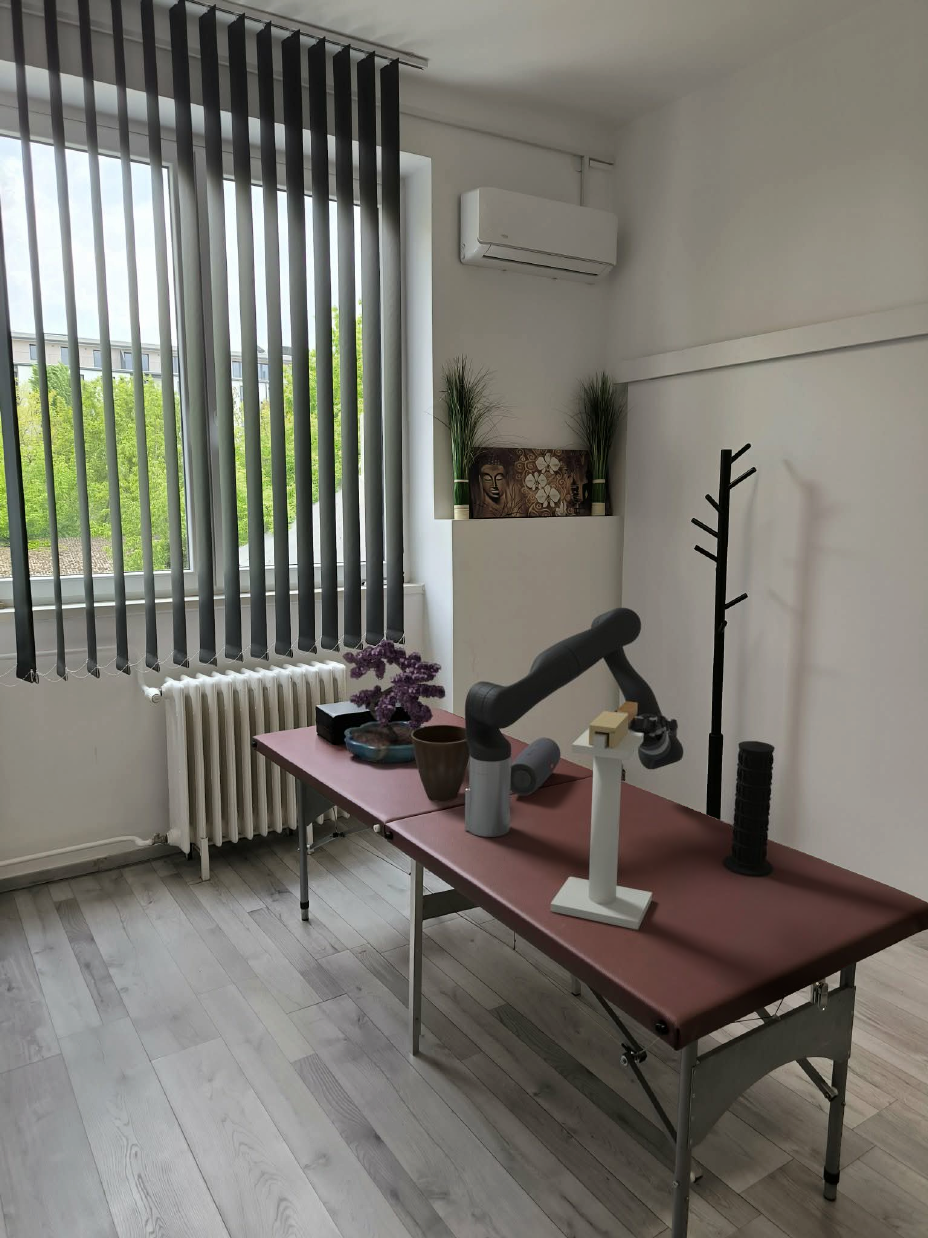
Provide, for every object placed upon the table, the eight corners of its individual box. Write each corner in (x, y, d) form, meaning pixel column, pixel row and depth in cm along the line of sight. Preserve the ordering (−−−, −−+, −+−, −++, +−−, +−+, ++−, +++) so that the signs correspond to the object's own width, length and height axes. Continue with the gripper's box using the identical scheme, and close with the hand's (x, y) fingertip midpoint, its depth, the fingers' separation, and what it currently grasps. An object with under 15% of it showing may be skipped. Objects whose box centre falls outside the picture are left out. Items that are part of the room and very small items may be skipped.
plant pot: (450, 812, 209) (451, 746, 206) (399, 799, 217) (399, 735, 214) (483, 793, 221) (484, 731, 219) (433, 781, 229) (433, 721, 226)
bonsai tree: (325, 745, 258) (324, 634, 252) (409, 732, 271) (410, 627, 266) (377, 782, 228) (376, 657, 223) (468, 766, 242) (470, 648, 236)
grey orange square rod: (592, 748, 154) (592, 735, 153) (625, 712, 176) (626, 701, 176) (605, 749, 153) (605, 736, 153) (637, 714, 176) (637, 702, 175)
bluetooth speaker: (539, 803, 215) (540, 763, 214) (502, 798, 218) (503, 759, 217) (562, 774, 236) (563, 737, 235) (528, 769, 239) (529, 733, 238)
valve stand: (550, 911, 163) (556, 722, 157) (569, 883, 174) (575, 706, 168) (637, 929, 157) (647, 733, 151) (651, 900, 167) (661, 716, 161)
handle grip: (773, 880, 176) (774, 859, 186) (783, 751, 172) (783, 737, 181) (721, 872, 179) (724, 852, 189) (729, 745, 175) (731, 731, 184)
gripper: (621, 715, 205) (607, 695, 191) (684, 722, 199) (675, 702, 185) (616, 747, 203) (602, 729, 188) (680, 755, 197) (670, 737, 183)
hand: (638, 715), depth 187 cm, fingers open, 8 cm apart
